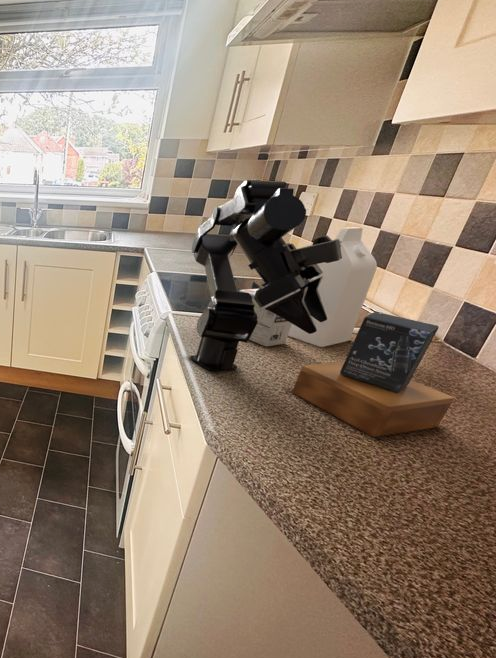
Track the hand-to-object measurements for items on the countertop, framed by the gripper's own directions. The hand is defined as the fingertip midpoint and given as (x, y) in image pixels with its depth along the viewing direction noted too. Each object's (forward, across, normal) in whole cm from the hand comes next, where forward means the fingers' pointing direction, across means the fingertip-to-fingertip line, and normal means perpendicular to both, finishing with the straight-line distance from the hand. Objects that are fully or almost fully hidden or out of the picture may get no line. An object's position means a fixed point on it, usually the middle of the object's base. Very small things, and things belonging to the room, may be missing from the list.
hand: (319, 326), depth 70 cm
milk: (+6, +41, +12) cm, 43 cm away
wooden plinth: (+16, +4, +3) cm, 17 cm away
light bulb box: (0, +27, +19) cm, 33 cm away
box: (+12, +4, -1) cm, 13 cm away
